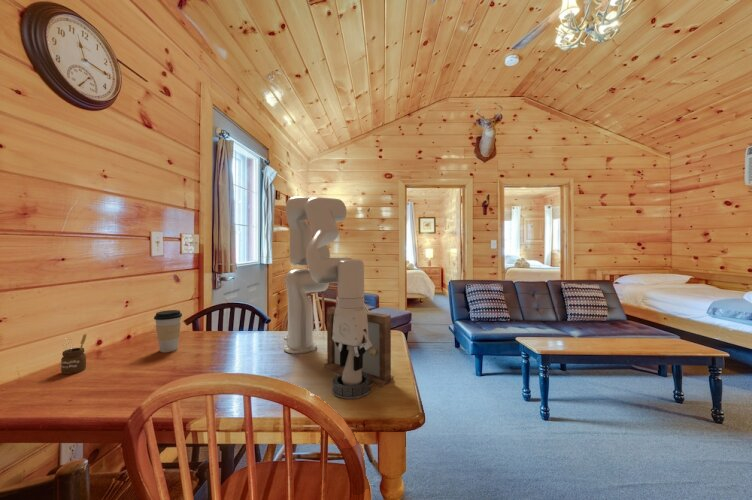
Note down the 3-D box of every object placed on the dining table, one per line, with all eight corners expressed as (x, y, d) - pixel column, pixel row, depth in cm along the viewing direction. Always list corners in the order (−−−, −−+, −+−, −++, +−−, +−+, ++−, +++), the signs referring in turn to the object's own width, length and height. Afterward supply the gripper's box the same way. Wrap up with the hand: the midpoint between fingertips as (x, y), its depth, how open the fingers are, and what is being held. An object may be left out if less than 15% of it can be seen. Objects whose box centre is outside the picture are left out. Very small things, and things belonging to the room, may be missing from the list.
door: (331, 364, 103) (331, 316, 103) (337, 361, 106) (337, 314, 106) (377, 379, 92) (377, 324, 92) (383, 375, 94) (383, 322, 94)
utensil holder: (69, 368, 105) (68, 333, 104) (91, 366, 106) (91, 331, 106) (55, 375, 99) (55, 338, 99) (79, 373, 100) (79, 336, 100)
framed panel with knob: (324, 367, 104) (323, 308, 104) (336, 362, 109) (336, 305, 109) (382, 387, 90) (381, 318, 90) (393, 380, 95) (393, 314, 94)
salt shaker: (358, 392, 85) (362, 344, 86) (338, 389, 86) (342, 341, 87) (363, 385, 91) (367, 340, 92) (344, 382, 92) (348, 337, 93)
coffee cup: (172, 353, 119) (172, 314, 118) (148, 353, 119) (147, 314, 119) (187, 346, 128) (187, 309, 128) (165, 346, 128) (164, 309, 128)
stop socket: (323, 391, 87) (323, 381, 87) (349, 378, 96) (349, 368, 96) (353, 403, 81) (353, 392, 81) (378, 387, 89) (378, 377, 89)
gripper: (320, 301, 90) (320, 364, 90) (365, 308, 80) (366, 379, 80) (338, 298, 96) (338, 357, 96) (382, 304, 86) (383, 370, 86)
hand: (351, 366), depth 88 cm, fingers open, 4 cm apart
